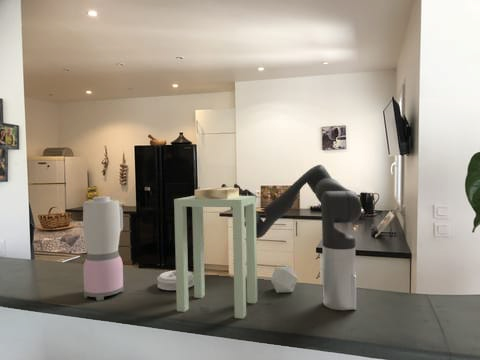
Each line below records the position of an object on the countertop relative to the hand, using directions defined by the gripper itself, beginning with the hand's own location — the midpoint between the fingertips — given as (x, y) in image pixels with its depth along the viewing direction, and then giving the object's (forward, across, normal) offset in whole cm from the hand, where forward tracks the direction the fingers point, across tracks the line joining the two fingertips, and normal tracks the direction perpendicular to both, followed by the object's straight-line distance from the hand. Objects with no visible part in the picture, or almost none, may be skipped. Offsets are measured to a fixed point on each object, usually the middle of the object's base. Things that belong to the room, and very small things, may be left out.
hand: (228, 186), depth 118 cm
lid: (-19, +21, -29) cm, 41 cm away
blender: (-9, +40, -35) cm, 54 cm away
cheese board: (+3, 0, -5) cm, 6 cm away
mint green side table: (-8, 0, -36) cm, 36 cm away
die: (-24, -16, -27) cm, 39 cm away
